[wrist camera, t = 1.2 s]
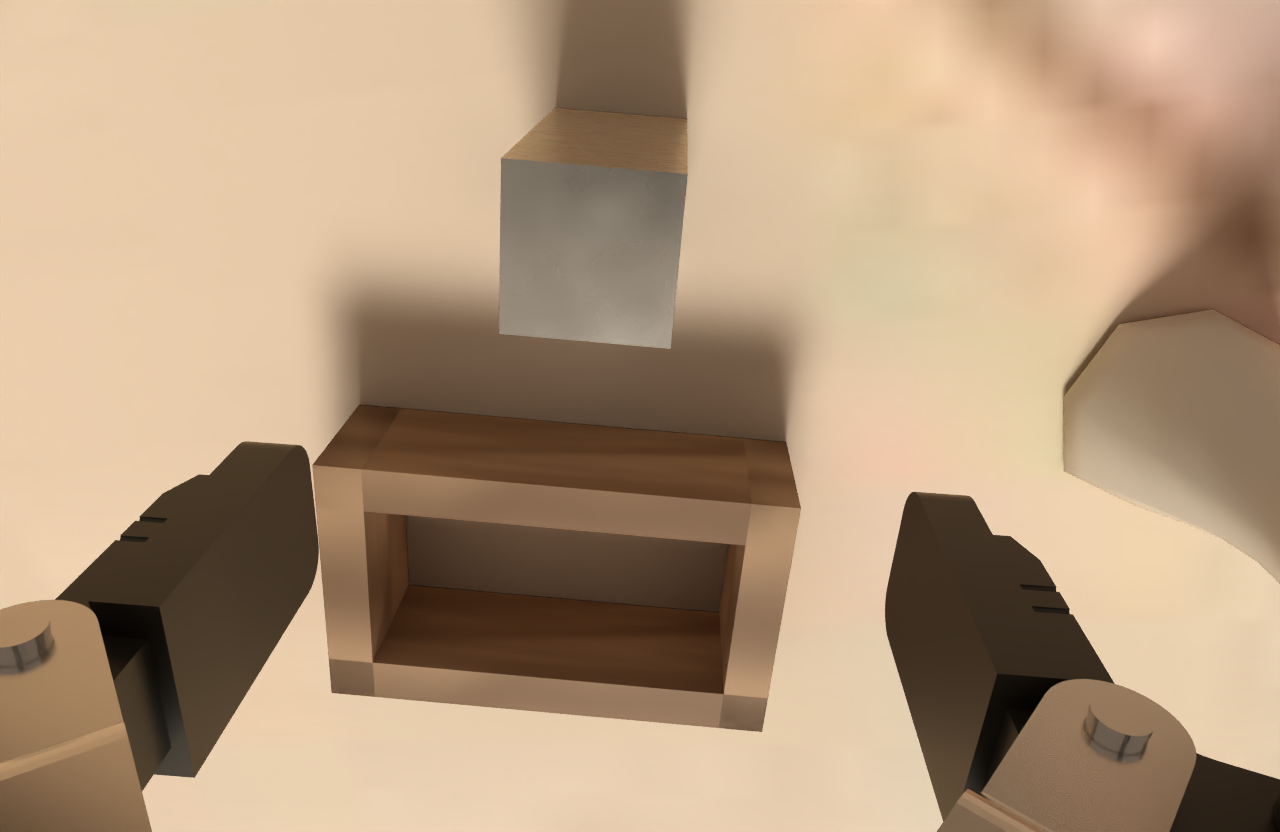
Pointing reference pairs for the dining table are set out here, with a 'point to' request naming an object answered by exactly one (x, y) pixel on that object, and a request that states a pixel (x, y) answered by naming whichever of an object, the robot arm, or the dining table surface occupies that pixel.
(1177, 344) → the flask
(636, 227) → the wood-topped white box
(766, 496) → the rectangular wooden frame
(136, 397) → the dining table surface
